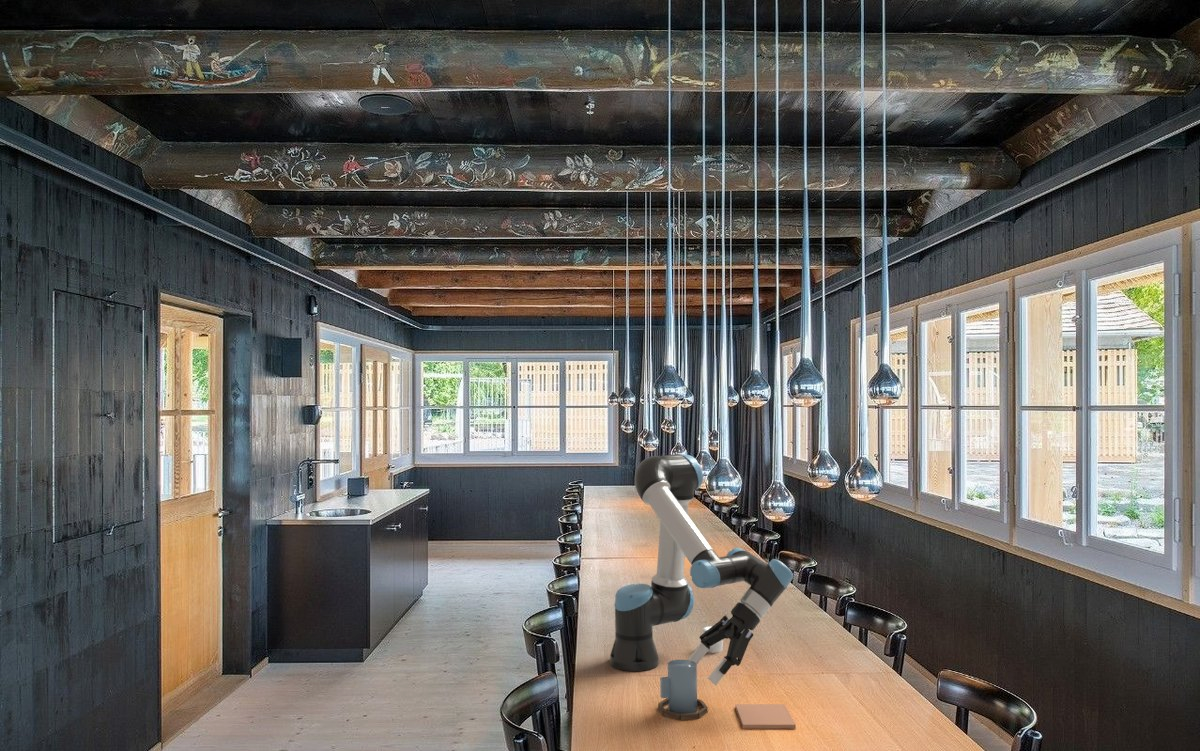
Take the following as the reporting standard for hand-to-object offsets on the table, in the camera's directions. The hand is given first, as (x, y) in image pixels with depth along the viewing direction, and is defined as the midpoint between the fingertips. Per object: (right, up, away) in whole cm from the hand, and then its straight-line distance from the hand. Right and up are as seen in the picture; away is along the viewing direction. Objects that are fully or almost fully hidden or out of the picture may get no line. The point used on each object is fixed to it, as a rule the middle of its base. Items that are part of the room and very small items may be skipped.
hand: (700, 673), depth 206 cm
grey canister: (-6, -10, -1) cm, 11 cm away
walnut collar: (-5, -10, 0) cm, 11 cm away
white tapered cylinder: (+11, -11, +49) cm, 51 cm away
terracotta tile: (+16, -9, -6) cm, 19 cm away
